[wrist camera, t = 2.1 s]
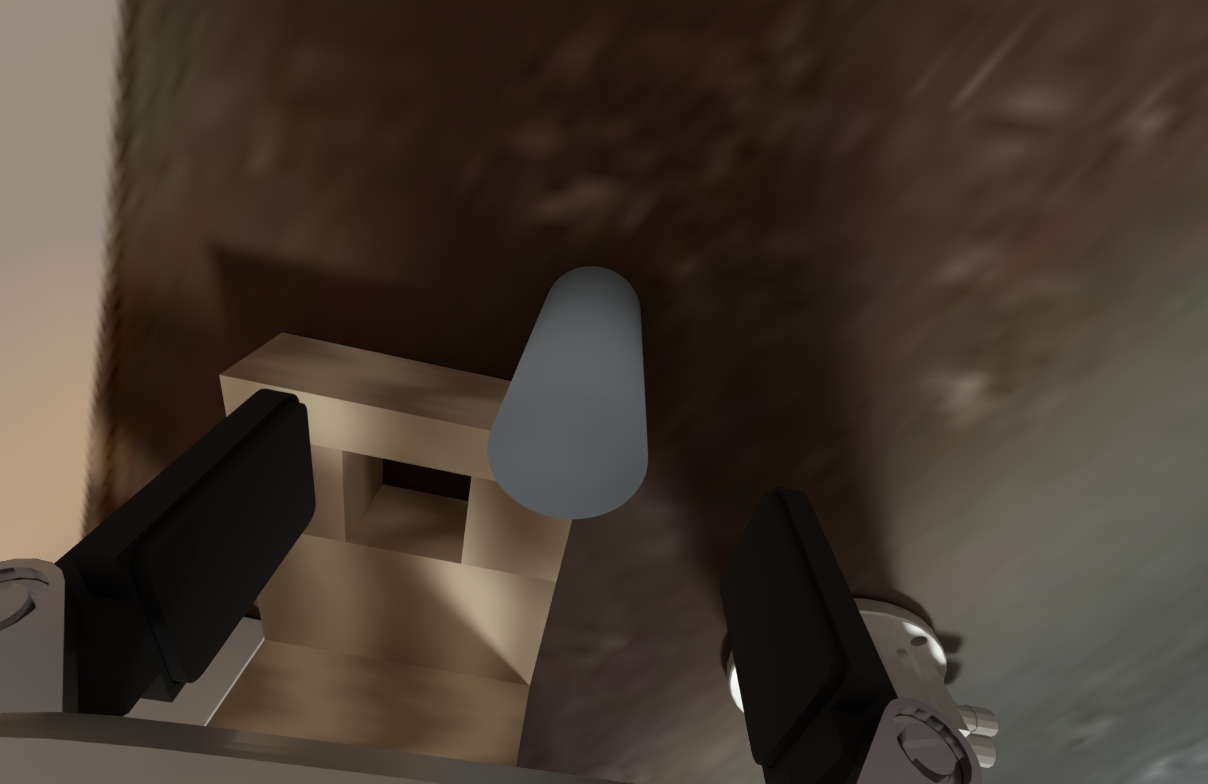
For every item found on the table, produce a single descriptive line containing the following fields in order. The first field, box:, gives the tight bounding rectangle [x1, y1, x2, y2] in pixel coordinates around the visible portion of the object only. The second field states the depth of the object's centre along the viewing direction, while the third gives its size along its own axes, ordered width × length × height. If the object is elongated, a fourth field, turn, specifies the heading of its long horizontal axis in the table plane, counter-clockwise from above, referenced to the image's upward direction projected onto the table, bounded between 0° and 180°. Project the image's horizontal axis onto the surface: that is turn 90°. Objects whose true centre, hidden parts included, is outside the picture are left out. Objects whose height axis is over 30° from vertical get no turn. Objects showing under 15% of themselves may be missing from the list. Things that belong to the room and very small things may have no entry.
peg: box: [487, 266, 648, 519], centre depth 17 cm, size 4×4×10 cm
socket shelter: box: [206, 332, 572, 767], centre depth 21 cm, size 16×18×16 cm
